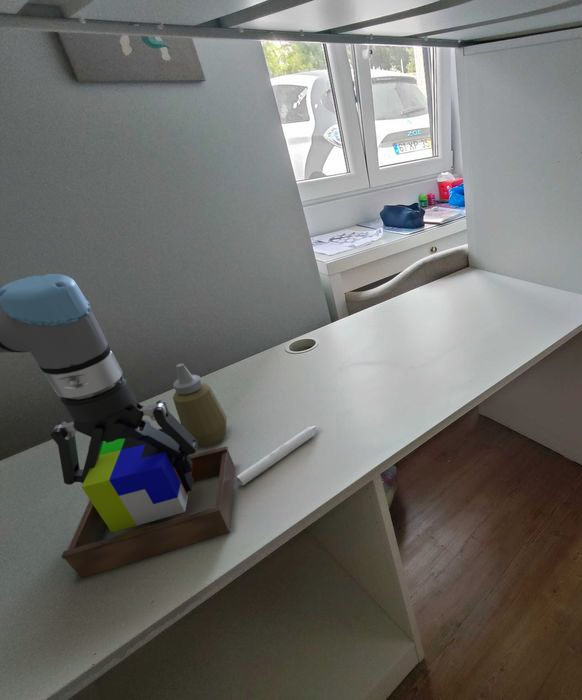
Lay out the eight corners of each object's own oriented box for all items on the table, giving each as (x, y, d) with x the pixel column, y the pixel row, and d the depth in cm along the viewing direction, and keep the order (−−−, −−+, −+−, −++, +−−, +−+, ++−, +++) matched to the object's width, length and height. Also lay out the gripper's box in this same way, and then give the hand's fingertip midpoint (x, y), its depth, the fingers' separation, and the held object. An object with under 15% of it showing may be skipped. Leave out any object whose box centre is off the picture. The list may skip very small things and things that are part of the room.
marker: (316, 428, 94) (314, 419, 93) (323, 431, 93) (320, 423, 92) (237, 483, 82) (234, 473, 80) (244, 487, 81) (240, 478, 79)
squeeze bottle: (180, 447, 91) (144, 374, 81) (208, 422, 97) (178, 352, 88) (213, 453, 89) (180, 379, 80) (240, 427, 95) (212, 356, 86)
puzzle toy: (185, 511, 71) (161, 466, 66) (111, 532, 68) (81, 487, 63) (192, 469, 79) (172, 426, 74) (127, 486, 76) (101, 442, 71)
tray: (79, 579, 66) (61, 556, 64) (109, 501, 79) (95, 479, 76) (230, 532, 72) (219, 510, 70) (236, 467, 85) (227, 445, 82)
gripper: (-25, 422, 55) (62, 536, 67) (179, 381, 62) (227, 491, 74) (3, 389, 61) (79, 499, 73) (187, 355, 68) (230, 460, 80)
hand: (153, 495), depth 73 cm, fingers closed on puzzle toy, 10 cm apart
